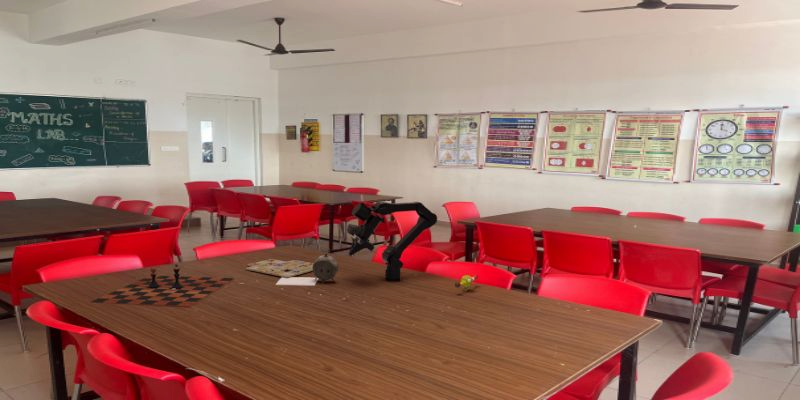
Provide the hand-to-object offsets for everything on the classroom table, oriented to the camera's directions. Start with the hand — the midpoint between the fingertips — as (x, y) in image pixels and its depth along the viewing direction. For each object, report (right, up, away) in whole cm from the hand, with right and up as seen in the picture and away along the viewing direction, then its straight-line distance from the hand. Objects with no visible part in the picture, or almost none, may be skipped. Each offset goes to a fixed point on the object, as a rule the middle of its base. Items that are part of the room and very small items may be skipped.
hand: (349, 254), depth 228 cm
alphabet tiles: (-36, -9, +25) cm, 44 cm away
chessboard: (-74, -14, -15) cm, 77 cm away
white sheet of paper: (-23, -12, +1) cm, 26 cm away
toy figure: (+52, -15, -7) cm, 54 cm away
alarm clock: (-11, -12, +1) cm, 17 cm away
